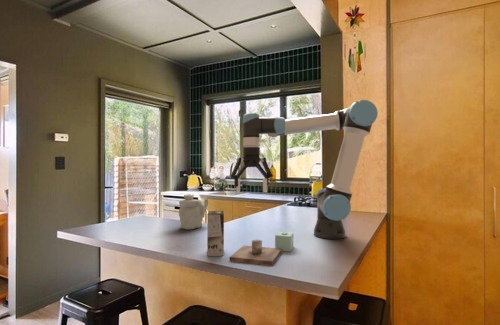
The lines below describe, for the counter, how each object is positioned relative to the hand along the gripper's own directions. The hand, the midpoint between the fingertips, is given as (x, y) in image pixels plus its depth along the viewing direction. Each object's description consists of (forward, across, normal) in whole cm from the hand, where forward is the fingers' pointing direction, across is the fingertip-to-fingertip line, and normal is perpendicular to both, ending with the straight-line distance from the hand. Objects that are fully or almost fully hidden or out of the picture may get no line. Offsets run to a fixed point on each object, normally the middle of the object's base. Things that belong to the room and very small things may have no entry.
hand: (252, 193), depth 138 cm
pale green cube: (+22, -7, +17) cm, 29 cm away
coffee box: (+22, +21, +11) cm, 33 cm away
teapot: (+22, +18, -40) cm, 49 cm away
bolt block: (+22, +8, +22) cm, 33 cm away
